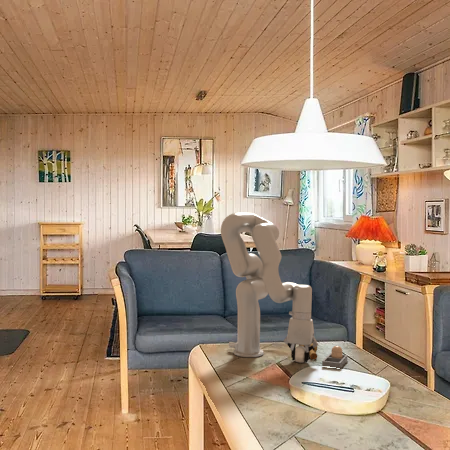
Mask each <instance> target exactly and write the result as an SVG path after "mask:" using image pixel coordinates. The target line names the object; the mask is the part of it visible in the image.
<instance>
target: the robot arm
mask: <svg viewBox="0 0 450 450" xmlns="http://www.w3.org/2000/svg"><path fill="white" fill-rule="evenodd" d="M241 233H249V234H251V238H252V240H253V243H254V245H255V248H256V250H257V254H258V255H259V256H258V255H256V254H255V253H249V252H248V249H247V246H246V243H245V241H244V239H243V237H242V236H241ZM220 236H221V239H222V242H223V245H224V247H225V251H226V255H227V258H228V260H229V263H230V268H231V271H232V272H233V274H234V275H235V276H236V277H238V278H246V279H245V280H242V281H241V282H239V283H238V284H237V286H236V289H235V297H236V304H237V335H236V336H237V338H236V339H237V341H236V342H234V341H233V342H232V341H229V342H228V347H229V348H234V350H233V354H234V355H235V356H237V357H242V358H257V357H261V356H263V355H264V350H263V349H261V345H260V344H261V309H260V308H261V307H260V303H259V300H262V299H265V298H266V297H267V296H269V298H270V299H271V300H272V301H273V302H274V303H277V304H282V303H286V302H288V301H289V302H290V301H292V309H291V311H289V312H288V315H290V316H291V317H290V318H289V320H288V321H289V322H288V328H287V335H286V337H285V338H284V339H283V342H284V343H285V345H287V346H288V348H289V349H290V353H291V354H290V355H291V356H290V357H291V358H292V359H291V360H292V361H293V362H295V349H296V347H297V345H298V346H299V345H305V349H306V352H305V356H304V362H303V363H307V362H308V361H309V360H310V355H309V353H310V351H311V350H312V349H313V348H315V347H316V346H317V347H318V346H319V343H318V341H317V339H316V337H315V329H314V322H313V319H312V303H313V302H312V301H313V295H312V294H313V288H312V286H311V285H309V284H297V283H295V282H290V281H286V282H282V280H281V276H280V273H279V272H280V271H279V267H280V266H279V265H280V263H281V260H282V258H283V257H282V253H281V251H280V249H279V246H278V243H277V241H278V239H279V237H280V230H279V228H278V226H277V225H276V224H275V223H273V222H271V221H269V220H267V219H265V218H263V217H260V216H259V215H257V214H255V213H253V212H233V213H230V214H229V215H227V216H225V218H224V219H223V221H222V223H221V226H220ZM312 343H313V345H312V346H310V345H311V344H312Z"/></svg>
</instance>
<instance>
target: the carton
mask: <svg viewBox="0 0 450 450" xmlns="http://www.w3.org/2000/svg"><path fill="white" fill-rule="evenodd" d="M347 362H348V354H343V348H342V347H341V346H339V345H335V346H333V347H332V348H331V353H329V354H328V355H327V356H325V358H324V359H323V360H322V361H321V363H322V364H321V367H322V366H330V367H336V368H341V369H342V368H343V367H344V366H345V365H346V364H347Z"/></svg>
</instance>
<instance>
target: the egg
mask: <svg viewBox="0 0 450 450" xmlns="http://www.w3.org/2000/svg"><path fill="white" fill-rule="evenodd" d="M295 348H296V349H295V360H294V362H296V363H305V362H304V356H305V352H306V349H305V348H304V347H303V346H299V345H298V346H296V347H295Z"/></svg>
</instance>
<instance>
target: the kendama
mask: <svg viewBox="0 0 450 450" xmlns="http://www.w3.org/2000/svg"><path fill="white" fill-rule="evenodd" d="M312 345H313V343H312V344H311V345H310V346H312ZM298 346H303V347H304V348H305V345H298ZM317 352H318V346H316V347H315V348H313V349H312V350H311V351H310V353H309V359H310V360H312V359H315V360H317V359H318V354H317Z"/></svg>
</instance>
